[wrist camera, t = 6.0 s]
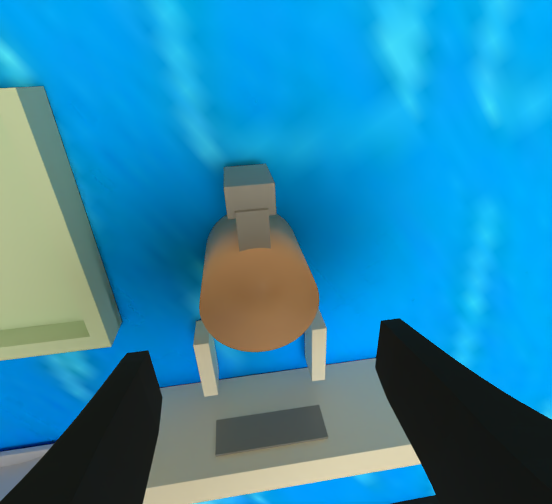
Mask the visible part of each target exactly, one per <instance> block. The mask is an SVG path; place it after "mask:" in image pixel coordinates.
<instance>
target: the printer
mask: <svg viewBox="0 0 552 504" xmlns="http://www.w3.org/2000/svg"><path fill="white" fill-rule="evenodd" d="M326 330H327V328H326V326H325V323H324V321H323V318H322V316H321V313H320V311H319V308H318V310H317V313H316V316H315V318H314V320H313V322H312V324H311V325H310V326H309V328H308V329H307V330H306V331H305V359H306V362H307V366H308V368H301V369H294V370H287V371H279V372H272V373H265V374H258V375H251V376H243V377H236V378H229V379H222V380H219V367H218V361H217V355H216V350H215V344H214V338H213V336H212V335H211V334H210V333H209V332H208V331H207V329H206V328H205V326H204V324H203V322H202V320H200V321H196V327H195V335H194V344H193V346H194V351H195V355H196V360H197V365H198V369H199V374H200V378H201V382H200V383H193V384H186V385H179V386H171V387H164V388H160V391H161V394H162V397H163V398H162V408H161V418H160V426H159V434H158V438H157V443H156V447H155V452H154V456H153V461H152V465H151V470H150V474H149V479H148V483H147V487H146V492H145V496H144V500H143V504H192V503H198V502H204V501H209V500H215V499H221V498H227V497H232V496H238V495H244V494H250V493H256V492H261V491H267V490H273V489H279V488H284V487H290V486H296V485H302V484H308V483H313V482H319V481H325V480H331V479H336V478H342V477H348V476H354V475H360V474H365V473H371V472H377V471H383V470H389V469H394V468H400V467H406V466H412V465H417V464H421V462H420V461H419V459H418V457H417V455H416V453H415V451H414V449H413V447H412V445H411V444H410V442H409V440H408V438H407V436H406V434H405V432H404V430H403V428H402V427H401V425H400V423H399V421H398V419H397V417H396V415H395V413H394V411H393V409H392V407H391V406H390V404H389V402H388V400H387V398H386V395H385V393H384V390H383V388H382V385H381V382H380V380H379V377H378V374H377V372H376V369H375V363H376V358H373V359H366V360H359V361H351V362H344V363H337V364H330V365H325V362H326Z"/></svg>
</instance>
